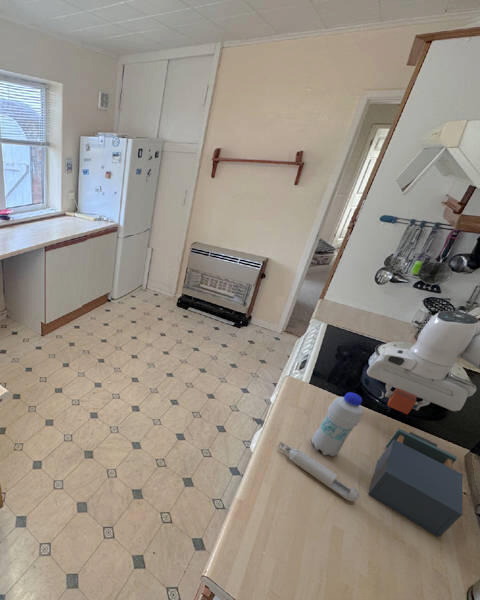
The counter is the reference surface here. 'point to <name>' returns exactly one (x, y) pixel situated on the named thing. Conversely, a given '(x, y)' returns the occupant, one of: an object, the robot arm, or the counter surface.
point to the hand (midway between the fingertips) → (400, 402)
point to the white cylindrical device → (320, 472)
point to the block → (402, 401)
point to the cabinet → (418, 488)
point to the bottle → (338, 424)
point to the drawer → (423, 447)
